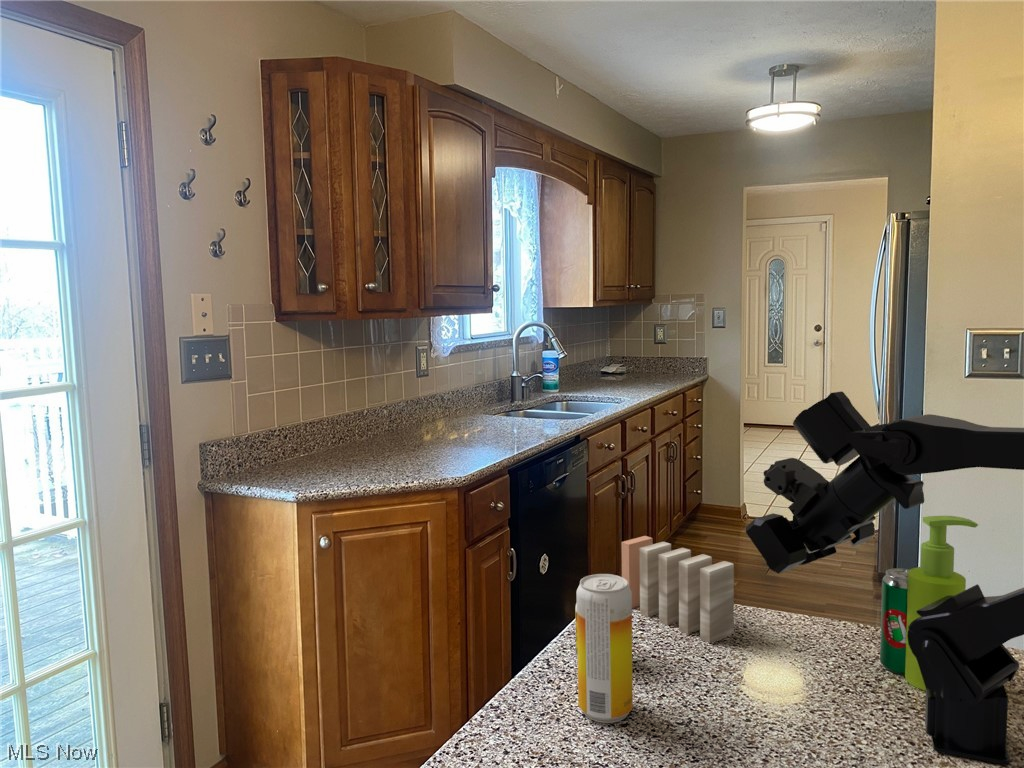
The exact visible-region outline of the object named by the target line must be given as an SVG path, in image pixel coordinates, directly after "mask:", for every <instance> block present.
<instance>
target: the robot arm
mask: <svg viewBox="0 0 1024 768" xmlns="http://www.w3.org/2000/svg"><path fill="white" fill-rule="evenodd" d="M792 425H793V427H794V428H795V430H796V431H797V432H798V433H799V435H801V437H802V439H803V440H804V441H805V443H807V445H809V448H811V450H812V451H813V452H814V454H815V455H816V456H817V457H818V458H819V460H820V461H821V462H822V463H823V464H829V463H830V464H831V463H832V462H833V463H834V464H835V465H836V466H838V467H840V466H843V465H845V464H847V463H849V462H851V463H849V465H847V466H846V467H845V468H844V469H843V470H842V471H840V472H839V473H838V474H837V475H836V476H835V477H833V478H832V479H831V480H830V481H829V480H827V479H826V478H825V477H824V476H823V474H821V473H820V472H818V471H817V470H815V469H814V468H812V467H811V466H809V465H808V464H806V463H805V462H804V461H802V460H800V459H798V458H794V457H789V458H785V459H781V460H776V461H774V464H770V465H769V467H768V469H765V470H764V471H763V476H764V478H763V484H764V486H765V487H766V488H767V489H769V490H770V491H772V492H773V493H774V494H776V495H777V496H782V497H783V498H785V499H786V500H787V501H788V502H791V504H790V505H788V507H787V508H788V510H789V511H790V512H791V514H792V515H793V516H792V520H789V519H788V518H787V517H785V516H784V515H781V514H778V513H773V512H772V513H770V514H766V515H762V516H759V517H756V518H754V519H753V520H752V521H751V522H750V523H749V524H747V525H746V526H745V534H746V535H747V536H748V538H749V539H750V541H751V542H752V543H753V545H754V546H755V548H756V550H758V552H759V554H760V555H761V557H762V558H763V559H764V561H765V564H766V565H767V567H768V569H770V570H771V571H773V572H775V573H776V574H782V573H784V572H787V571H790V570H792V569H795V568H796V567H798V566H805V565H807V564H811V563H813V562H815V561H818V560H820V559H823V558H824V559H825V558H827V557H829V556H832V555H835V554H836V553H837V549H836V547H835V546H839V545H841V544H845V543H847V542H848V541H849V540H850V541H849V544H850V545H851V547H855V546H859V545H860V544H861V545H862V544H864V543H866V542H867V541H868V540H869V539H871V537H874V536H875V527H876V526H875V523H874V521H875V520H876V519H877V517H876V515H877V514H878V513H879V512H881V511H882V510H883V509H884V508H886V507H887V506H888V505H890V504H891V503H892V502H893V501H894V500H896V502H897V503H898V504H899V505H900V507H902V508H903V509H905V510H908V509H910V508H914V507H916V506H919V505H922V504H924V503H925V496H924V495H925V494H924V490H923V489H924V488H923V487H924V485H925V484H924V482H923V480H917V479H914V478H912V477H910V476H916V475H924V474H933V473H942V472H948V471H956V470H962V469H972V468H973V469H974V468H985V469H1002V470H1003V469H1004V470H1019V471H1024V427H1002V426H1001V427H999V426H989V425H988V426H987V425H982V424H978V423H974V422H971V421H967V420H965V419H961V418H953V417H948V416H942V415H937V414H929V413H928V414H922V415H916V416H912V417H907V418H901V419H895V420H892V421H889V422H888V423H883V424H882V423H881V424H876V425H873V426H871V425H870V423H868V421H867V420H866V419H865V418H864V417H863V415H861V413H860V412H859V411H858V409H856V408H855V406H854V405H853V404H852V402H851V400H850V399H849V397H848V396H847V395H846V393H845V392H844V391H834V392H830V393H829V394H828V396H826V398H824V399H821V400H819V401H817V402H815V403H814V404H812V405H811V406H809V407H808V408H806V409H803V410H802V411H800V413H798V415H797V416H796V417H795V419H794V420H793V421H792ZM856 457H857V458H856ZM851 534H853V535H854V537H853V536H851ZM917 614H919V615H920V616H921V617H919V618H917V619H915V620H914V621H912V622H911V624H910V625H909V626H908V635H907V637H908V644H909V646H910V649H911V651H912V653H913V654H914V656H915V657H916V659H917V662H918V665H919V668H920V671H921V674H922V677H923V681H924V684H925V687H926V691H925V711H924V713H925V714H924V715H925V716H924V720H925V721H924V724H925V730H926V734H927V736H929V737H931V742H932V749H933V750H934V751H935V752H938V753H943V754H948V755H953V756H958V757H963V758H968V759H972V760H973V759H974V760H979V761H984V762H989V763H993V764H999V765H1003V766H1009V765H1010V764H1011V758H1010V755H1009V752H1008V749H1007V739H1008V738H1007V736H1008V735H1007V734H1008V733H1007V732H1008V709H1009V695H1008V693H1007V690H1006V688H1005V684H1007V683H1010V682H1011V681H1013V679H1014V678H1015V675H1016V674H1017V672H1018V670H1019V668H1020V663H1019V662H1018V661H1017V659H1016V658H1015V657H1014V656H1013V655H1012V654H1011V653H1010V651H1009V650H1008V649H1007V648H1006V646H1005V645H1004V644H1005V643H1006V642H1008V641H1010V640H1012V639H1015V638H1018V637H1020V636H1024V587H1020V588H1018V589H1016V590H1014V591H1010V592H1007V593H1005V594H1001V595H994V596H993V595H992V596H990V595H989V596H984V594H983V591H982V589H981V587H980V585H979V584H975V585H973V586H971V587H969V588H967V589H965V591H963V592H961V593H959V594H957V595H955V596H950V595H948V596H946V597H943V598H941V599H939V600H937V601H935V602H933V603H931V604H929V605H927V606H925V607H923V608H921V609H919V610H917Z"/></svg>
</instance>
